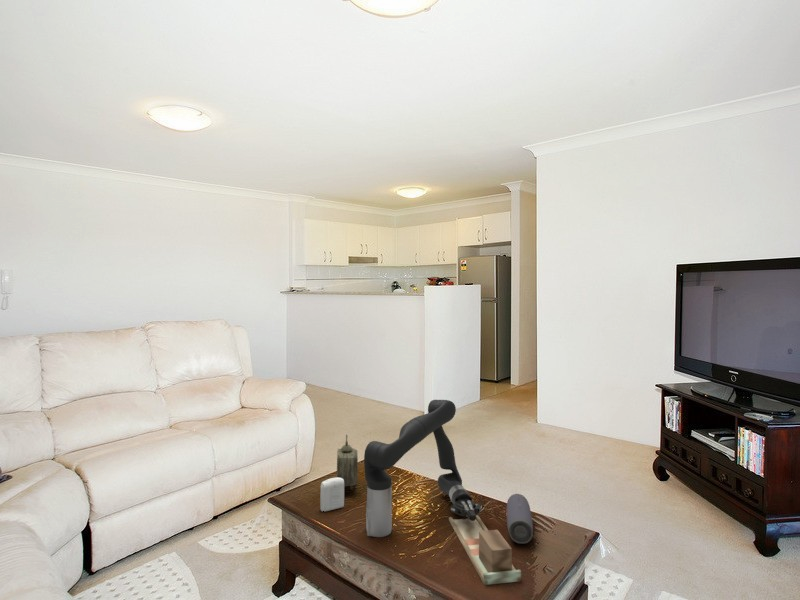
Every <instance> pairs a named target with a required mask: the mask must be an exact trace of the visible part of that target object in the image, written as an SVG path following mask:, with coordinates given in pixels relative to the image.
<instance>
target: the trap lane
mask: <svg viewBox="0 0 800 600" xmlns="http://www.w3.org/2000/svg"><path fill="white" fill-rule="evenodd" d="M448 521H449V523H450V525H451V527H452V529H453V530H454V533H455V534H456V535H457V538H458V539H459V541H460V543H461V544H462V547H463V549H464V550H465V552H466V554H467V556H468V558H469V559H470V562H471V564H472V566H473V567H474V569H475V571H476V573H477V574H478V576H479V578H480V580H481V582H482V583H483V585H484V586H487V585H488V586H489V585H496V584H497V585H498V584H505V583H513V582H514V583H515V582H522V570H521V569H516V567H514V565H513V564H512V570H511V571H501V572H491V573H488V572H487V570H486V569H485V567H484V565H483V564H482V562H481V560H480V559H479V531H488V530H489V529H488V528H487V526H486V525H485V523H484V522H483V521H482V519H481V517H480V516H479V514H478V515H476V519H475V521H471V520H469V519H468V518H459V519H458V518H457V519H453V516H450V517H448Z"/></svg>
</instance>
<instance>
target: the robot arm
mask: <svg viewBox="0 0 800 600" xmlns="http://www.w3.org/2000/svg"><path fill="white" fill-rule="evenodd" d="M456 410H457V406H456V405H455V403H454V402H453V401H451V400H449V399H448V400H447V399H433V400H431V401H430V402H429V403H428V406H427V413H426V414H425V413H424V414H421V415H418V416H416V417H413V418H411V419H410V420H409V421H407V422H406V423H404V424H403V425H402V427H401V428H400V430H399V436H398V438H397V439H396V440H394V441H393V442H390V443H385V442H381V441H378V440H373V441H370V442H368V444H367V445H366V447H365V450H364V454H363V455H364V456H363V464H364V478H365V482H366V503H365V504H366V505H365V506H366V510H365V514H366V516H365V518H366V519H365V521H366V522H365V524H366V525H365V526H366V527H365V528H366V534H367V537H374V538H384V537H387V536H389V535H391V533H392V525H393V524H392V477H391V476H390V475H389V474H388V473H387V472H386V470H390V469H392V467H394V466H395V465H396V464H397V463H398V462H399V461H400V460H401V459H402V458H403V456H405V455H406V454H407V453H408V452H409V451H411V450H412V449H413V448H414V447H415V446H417V445H418V444H419V443H421V442H422V441H423V440H425V438H426V437H428V436H430V435H431V434H432V433H433V436H434V440H435V443H436V448H437V454H438V462H439V467H440V468H441V469H442V470H445V471H446V470H447V471H451V472H449V473H442V474H439V476H438V478H437V485H438V488H439V489H440V491H441V492H442V493H444V494H445V495H447V496H448V497H449V498H450V501H451V503H452V504H451V505H450V512H451V513H452V514H455V515H457V516H461V517H465V516H466V517H467V519H469V520H471V521H475V519H476V515H478V516H479V514H480V513H481V512H482V511H483V506H482V505H483V503H482V502H478V503H476V502H475V500H473V498H472V496H471V495H470V493H469V492H468V491H467V489H466V488H465V487H464V486H463V479H462V477H461V474H460V472H459V470H458V466H457V464H456V463H457V462H456V457H455V450H454V449H455V448H454V447H453V444H452V442H451V441H450V439H449V437H448V435H447V434H446V431H445V430H444V428H443V426H444V425H445V424H447V423H448V422H450V421H451V420H453V418H454V417H455V415H456V412H457V411H456Z"/></svg>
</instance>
